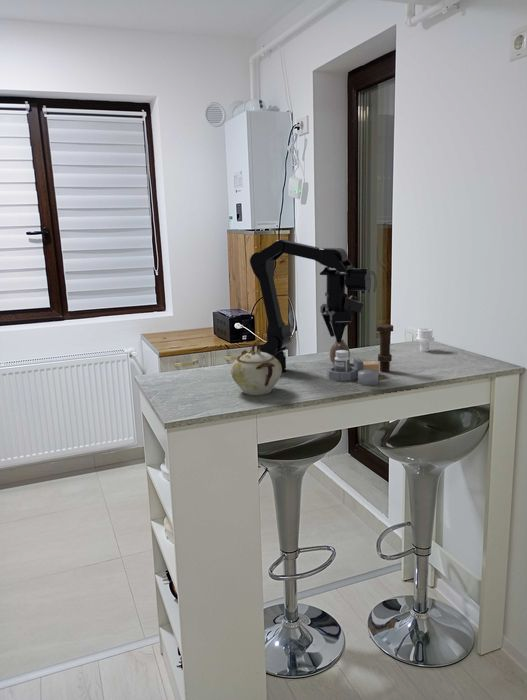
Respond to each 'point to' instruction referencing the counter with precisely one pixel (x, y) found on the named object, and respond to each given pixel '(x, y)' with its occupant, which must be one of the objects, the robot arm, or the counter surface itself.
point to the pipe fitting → (424, 338)
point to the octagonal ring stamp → (352, 370)
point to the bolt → (384, 346)
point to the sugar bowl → (256, 371)
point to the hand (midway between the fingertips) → (335, 339)
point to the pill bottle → (342, 361)
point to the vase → (336, 347)
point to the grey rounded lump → (367, 377)
